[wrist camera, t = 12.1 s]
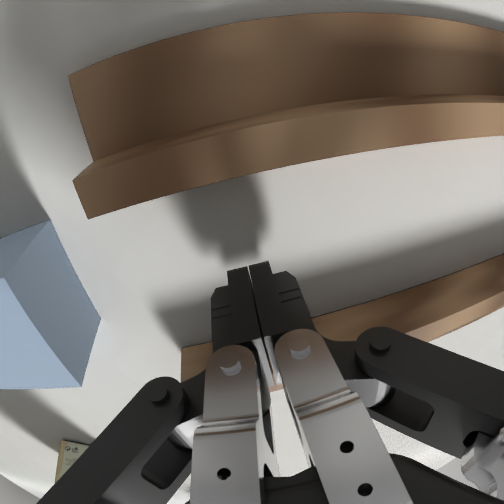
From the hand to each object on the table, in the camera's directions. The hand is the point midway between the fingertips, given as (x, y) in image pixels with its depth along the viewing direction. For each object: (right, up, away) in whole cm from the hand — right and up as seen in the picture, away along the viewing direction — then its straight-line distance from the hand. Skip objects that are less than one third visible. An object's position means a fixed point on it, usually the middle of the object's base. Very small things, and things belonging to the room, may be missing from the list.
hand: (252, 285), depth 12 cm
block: (-11, 0, 0) cm, 11 cm away
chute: (+6, +2, +1) cm, 6 cm away
